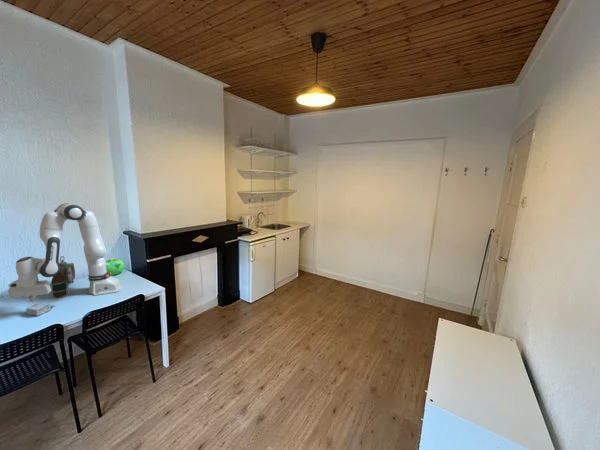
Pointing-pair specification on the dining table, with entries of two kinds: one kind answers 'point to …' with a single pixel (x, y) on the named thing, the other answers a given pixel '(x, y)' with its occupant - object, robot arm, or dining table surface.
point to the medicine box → (38, 309)
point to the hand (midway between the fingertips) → (32, 301)
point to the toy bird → (114, 266)
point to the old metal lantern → (67, 271)
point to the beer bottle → (59, 286)
